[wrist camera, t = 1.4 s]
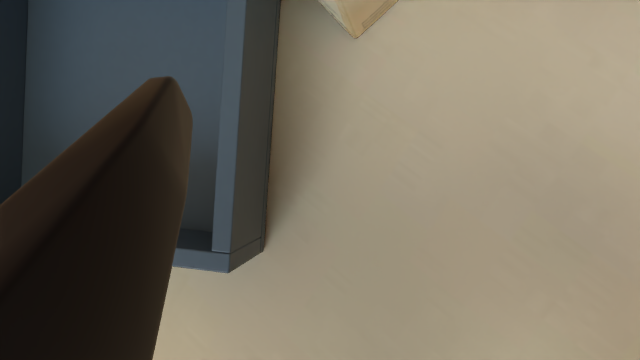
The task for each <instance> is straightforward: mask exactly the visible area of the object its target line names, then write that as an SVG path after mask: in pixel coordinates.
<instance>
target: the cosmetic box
mask: <svg viewBox="0 0 640 360" xmlns="http://www.w3.org/2000/svg"><path fill="white" fill-rule="evenodd" d="M318 1H319V2H320V3H321V4H322V6H323V7H324V8H325V9H326V10H327V11H328V12H329V13H330V14H331V15H332V16H333V17H334V18H335V20H336V21H337V22H338V23H339V24H340V25H341V26H342V27H343V28H344V29H345V30H346V31H347V32H348V33H349V34H350V35H351V36H352V37H354V38H358V37H359V36H360V35H361V34H362V33H363V32H364V31H365V30H367V29H368V28H369V27H370V26H371V25H372V24H373V23H374V22H375V21H376V20H378V19H379V18H380V17H381V16H382V15H383V14H384V13H385V12H386V11H387V10H388V9H389V8H390V7H392V6H393V5H394V4H395V3H396V2H397V1H398V0H318Z"/></svg>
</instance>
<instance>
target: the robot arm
mask: <svg viewBox="0 0 640 360" xmlns="http://www.w3.org/2000/svg"><path fill="white" fill-rule="evenodd" d="M192 128H193V118H192V113H191V110H190V108H189V106H188V104H187V101H186V99H185V97H184V95H183V93H182V91H181V89H180V86H179V84H178V82H177V81H176V80H175V78H173V77H171V76H165V77H154V78H150V79H148V80H147V81H146V82H144V83H143V84H142V85H141V86H140V87H139V88H137V89H136V90H135V91H134V92H133V93H132V94H130V95H129V96H128V97H127V98H126V99H124V100H123V101H122V102H121V103H120V104H119V105H117V106H116V107H115V108H114V109H113V110H111V111H110V112H109V113H108V114H107V115H106V116H104V117H103V118H102V119H101V120H100V121H99V122H97V123H96V124H95V125H94V126H93V127H91V128H90V129H89V130H88V131H87V132H86V133H84V134H83V135H82V136H81V137H80V138H78V139H77V140H76V141H75V142H74V143H73V144H71V145H70V146H69V147H68V148H67V149H66V150H64V151H63V152H62V153H61V154H60V155H58V156H57V157H56V158H55V159H54V160H53V161H51V162H50V163H49V164H48V165H47V166H46V167H44V168H43V169H42V170H41V171H40V172H38V173H37V174H36V175H35V176H34V177H33V178H31V179H30V180H29V181H28V182H27V183H25V184H24V185H23V186H22V187H21V188H20V189H18V190H17V191H16V192H15V193H14V194H13V195H11V196H10V197H9V198H8V199H7V200H5V201H4V202H3V203H2V204H1V205H0V360H152V359H153V354H154V349H155V345H156V340H157V335H158V330H159V326H160V321H161V316H162V311H163V307H164V302H165V297H166V292H167V288H168V283H169V278H170V273H171V268H172V264H173V259H174V254H175V249H176V245H177V240H178V235H179V230H180V226H181V221H182V216H183V211H184V206H185V201H186V195H187V187H188V176H189V164H190V152H191V140H192Z"/></svg>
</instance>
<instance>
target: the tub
mask: <svg viewBox="0 0 640 360" xmlns="http://www.w3.org/2000/svg"><path fill="white" fill-rule="evenodd" d="M280 1H281V0H0V205H1V204H2V203H3V202H4V201H5V200H7V199H8V198H9V197H10V196H11V195H13V194H14V193H15V192H16V191H17V190H18V189H20V188H21V187H22V186H23V185H24V184H25V183H27V182H28V181H29V180H30V179H31V178H33V177H34V176H35V175H36V174H37V173H38V172H40V171H41V170H42V169H43V168H44V167H46V166H47V165H48V164H49V163H50V162H51V161H53V160H54V159H55V158H56V157H57V156H58V155H60V154H61V153H62V152H63V151H64V150H66V149H67V148H68V147H69V146H70V145H71V144H73V143H74V142H75V141H76V140H77V139H78V138H80V137H81V136H82V135H83V134H84V133H86V132H87V131H88V130H89V129H90V128H91V127H93V126H94V125H95V124H96V123H97V122H99V121H100V120H101V119H102V118H103V117H104V116H106V115H107V114H108V113H109V112H110V111H111V110H113V109H114V108H115V107H116V106H117V105H119V104H120V103H121V102H122V101H123V100H124V99H126V98H127V97H128V96H129V95H130V94H132V93H133V92H134V91H135V90H136V89H137V88H139V87H140V86H141V85H142V84H143V83H144V82H146V81H147V80H148V79H150V78H154V77H165V76H171V77H173V78H175V80H176V81H177V82H178V84H179V86H180V89H181V91H182V93H183V95H184V97H185V99H186V101H187V104H188V106H189V108H190V110H191V113H192V118H193V128H192V140H191V152H190V164H189V176H188V187H187V195H186V201H185V206H184V211H183V216H182V221H181V226H180V230H179V235H178V240H177V245H176V249H175V254H174V259H173V264H172V266H173V267H181V268H189V269H198V270H206V271H214V272H222V273H230V272H231V271H233V270H234V269H236V268H238V267H239V266H241V265H242V264H244V263H245V262H247V261H249V260H250V259H252V258H253V257H255V256H256V255H258V254H259V253H261V252H263V250H264V236H265V221H266V207H267V192H268V177H269V163H270V148H271V133H272V119H273V104H274V89H275V75H276V60H277V45H278V30H279V16H280Z"/></svg>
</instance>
